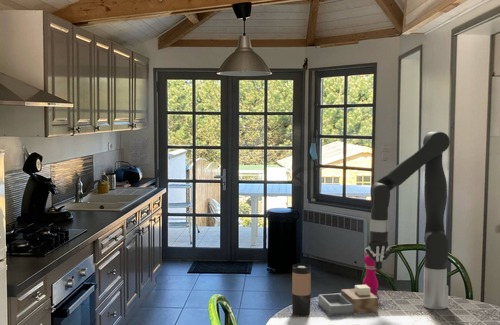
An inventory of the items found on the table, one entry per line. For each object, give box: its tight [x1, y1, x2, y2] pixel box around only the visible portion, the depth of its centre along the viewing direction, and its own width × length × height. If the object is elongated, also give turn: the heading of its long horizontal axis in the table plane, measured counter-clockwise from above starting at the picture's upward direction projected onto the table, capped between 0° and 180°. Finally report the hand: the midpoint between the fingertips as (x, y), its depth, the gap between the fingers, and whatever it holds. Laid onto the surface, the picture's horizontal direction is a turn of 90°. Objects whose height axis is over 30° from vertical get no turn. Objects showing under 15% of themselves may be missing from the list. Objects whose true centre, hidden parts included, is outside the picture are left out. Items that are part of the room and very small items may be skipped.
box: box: [317, 292, 355, 317], centre depth 238 cm, size 10×16×4 cm, turn 11°
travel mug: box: [291, 263, 312, 317], centre depth 231 cm, size 8×8×20 cm
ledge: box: [340, 288, 379, 314], centre depth 240 cm, size 11×14×6 cm
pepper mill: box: [362, 250, 379, 296], centre depth 258 cm, size 7×7×20 cm
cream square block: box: [354, 284, 370, 295], centre depth 240 cm, size 5×5×3 cm
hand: (377, 269), depth 241 cm, fingers closed
